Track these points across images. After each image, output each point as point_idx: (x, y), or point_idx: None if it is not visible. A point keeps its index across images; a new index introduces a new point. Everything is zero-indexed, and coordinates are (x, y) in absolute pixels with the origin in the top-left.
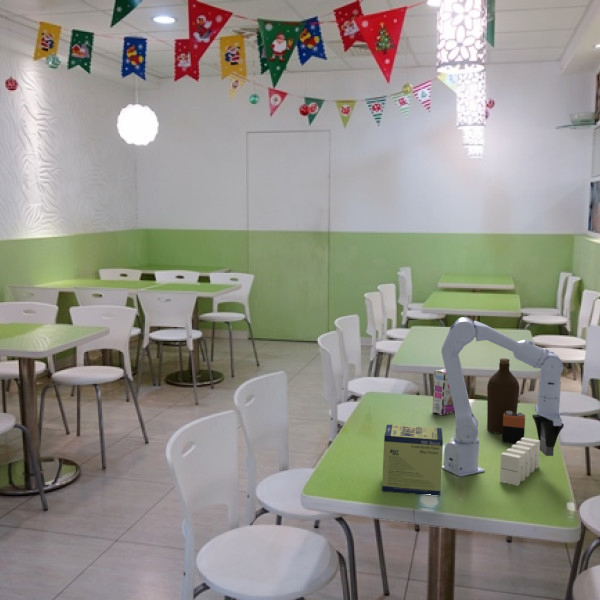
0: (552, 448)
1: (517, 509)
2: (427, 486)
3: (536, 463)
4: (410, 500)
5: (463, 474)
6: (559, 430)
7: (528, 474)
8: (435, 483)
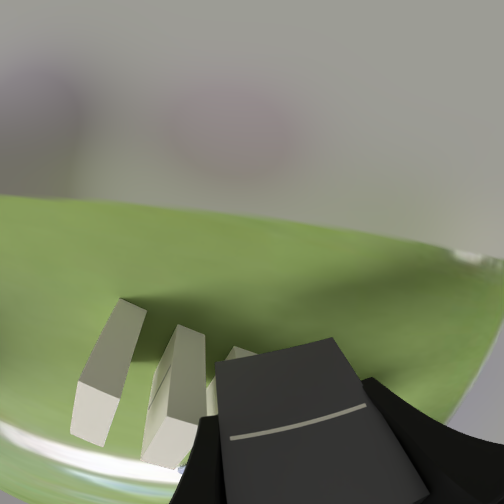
0: (352, 374)
1: (455, 365)
2: None
3: (142, 323)
4: None
5: None
6: (486, 448)
7: (247, 354)
8: None
